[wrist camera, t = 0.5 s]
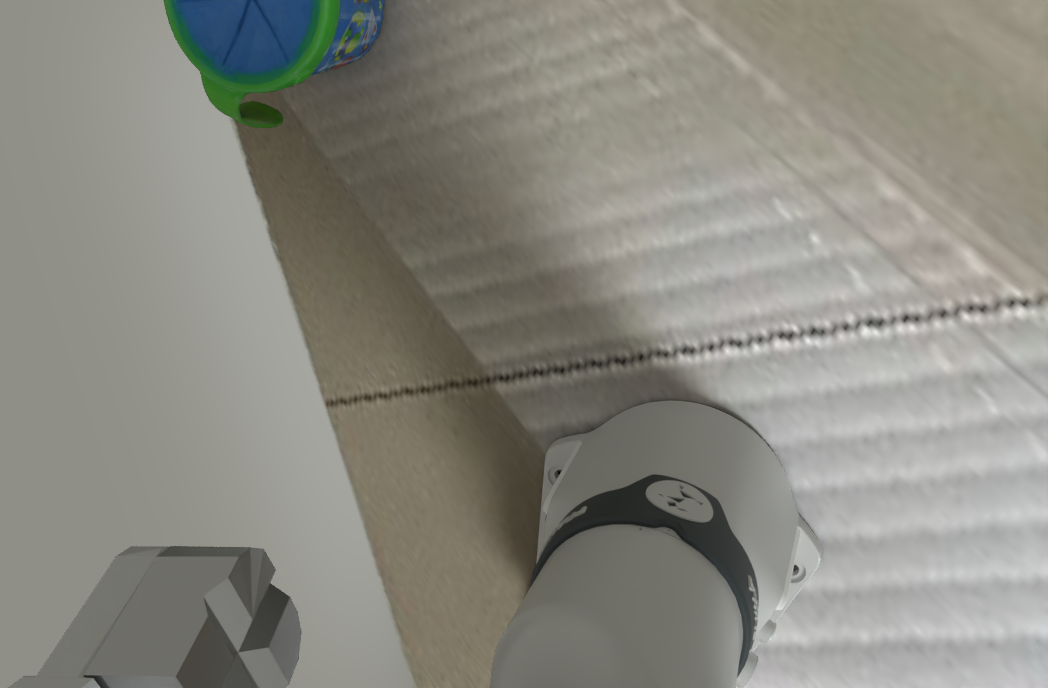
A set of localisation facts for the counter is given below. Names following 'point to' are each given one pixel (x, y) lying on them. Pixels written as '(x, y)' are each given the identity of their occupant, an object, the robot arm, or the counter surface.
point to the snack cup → (269, 45)
